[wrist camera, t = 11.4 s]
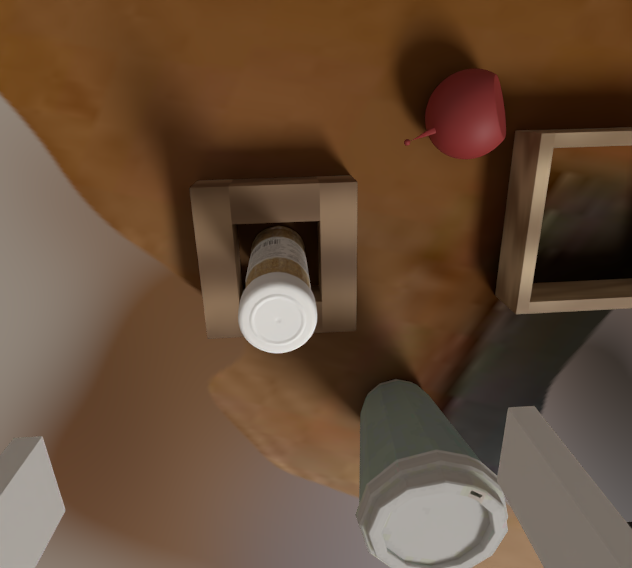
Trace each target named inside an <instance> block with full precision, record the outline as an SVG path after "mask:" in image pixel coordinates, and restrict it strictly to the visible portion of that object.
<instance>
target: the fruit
mask: <svg viewBox="0 0 632 568" xmlns="http://www.w3.org/2000/svg"><path fill="white" fill-rule="evenodd" d="M425 125H426V130H427V131H426V132H424V133H423V134H421V135H420V136H418V137H417V138H415V139H418V138H421V137H425V136H429V138H430V140H431V141H432V143H433V144H434V145H435V146H436V147H437V149H439V150H440V151H441V152H443V153H444V154H446V155H448V156H450V157H453V158H458V159H473V158H477V157H480V156H483V155H485V154H487V153H489V152H491V151H492V150H494V149H495V148H496V147H497V146H498V145H499V144H500V143H501V142H502V141H503V140H504V139H505V136H506V119H505V109H504V102H503V96H502V91H501V86H500V82H499V79H498V76H497V75H496V74H494V73H492V72H490V71H487V70H483V69H466V70H462V71H458V72H456V73H454V74H452V75H450V76H449V77H447V78H446V79H444V80H443V81H442V82H441V83H440V84H439V85H438V86H437V87H436V89H435V90H434V91H433V93H432V95H431V97H430V99H429V101H428V104H427V107H426V112H425ZM415 139H413V140H415ZM411 141H412V140H411ZM404 144H405V145H409V144H410V140H408V139H406V140H405V141H404Z"/></svg>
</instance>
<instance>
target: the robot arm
mask: <svg viewBox="0 0 632 568" xmlns="http://www.w3.org/2000/svg"><path fill="white" fill-rule="evenodd" d="M497 482H498V484H499V486H500V488H501V489H502V491H503V493H504V495H505V497H506V499H507V500H508V502H509V504H510V506H511V508H512V510H513V511H514V513H515V515H516V517H517V519H518V521H519V522H520V524H521V526H522V528H523V530H524V532H525V533H526V535H527V537H528V539H529V541H530V543H531V544H532V546H533V548H534V550H535V552H536V554H537V555H538V557H539V559H540V561H541V563H542V565H543V566H544V568H632V522H626V521H625V520H624V518H623V517H622V516H621V515H620V513H619V512H618V511H617V510H616V508H615V507H614V506H613V505H612V503H611V502H610V501H609V500H608V498H607V497H606V496H605V495H604V494H603V492H602V491H601V490H600V488H599V487H598V486H597V485H596V483H595V482H594V481H593V480H592V478H591V477H590V476H589V474H588V473H587V472H586V471H585V470H584V468H583V467H582V466H581V464H579V462H578V461H577V459H576V458H575V457H574V456H573V454H572V453H571V452H570V451H569V449H568V448H567V447H566V446H565V444H564V443H563V442H562V440H561V439H560V438H559V437H558V435H557V434H556V433H555V432H554V430H553V429H552V428H551V427H550V425H549V424H548V423H547V422H546V420H545V419H544V418H543V417H542V415H541V414H540V413H539V412H538V410H537V409H536V408H535V407H534V406H528V407H512V408H508V413H507V419H506V425H505V432H504V438H503V444H502V451H501V457H500V464H499V470H498V476H497ZM64 512H65V507H64V504H63V501H62V498H61V494H60V491H59V488H58V485H57V482H56V478H55V476H54V472H53V469H52V466H51V462H50V459H49V456H48V453H47V450H46V446H45V443H44V440H43V437H42V436H40V437H23V438H13V440H12V441H11V442H10V444H9V445H8V446H7V447H6V449H5V450H4V451H3V453H2V454H1V455H0V568H35V567H36V565H37V563H38V561H39V559H40V558H41V556H42V554H43V552H44V550H45V548H46V546H47V544H48V542H49V541H50V539H51V537H52V535H53V533H54V531H55V529H56V527H57V525H58V523H59V522H60V520H61V518H62V516H63V514H64Z"/></svg>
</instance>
